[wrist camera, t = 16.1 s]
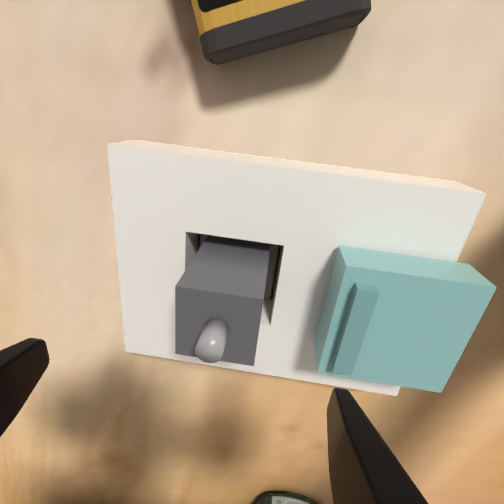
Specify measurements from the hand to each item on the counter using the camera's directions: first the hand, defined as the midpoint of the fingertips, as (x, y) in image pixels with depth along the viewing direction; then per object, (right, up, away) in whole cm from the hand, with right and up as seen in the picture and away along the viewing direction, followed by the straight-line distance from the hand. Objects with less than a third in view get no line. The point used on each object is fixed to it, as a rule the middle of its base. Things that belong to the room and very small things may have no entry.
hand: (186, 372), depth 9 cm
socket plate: (+3, +3, +12) cm, 12 cm away
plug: (+1, +3, +11) cm, 12 cm away
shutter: (+10, +1, +8) cm, 13 cm away
